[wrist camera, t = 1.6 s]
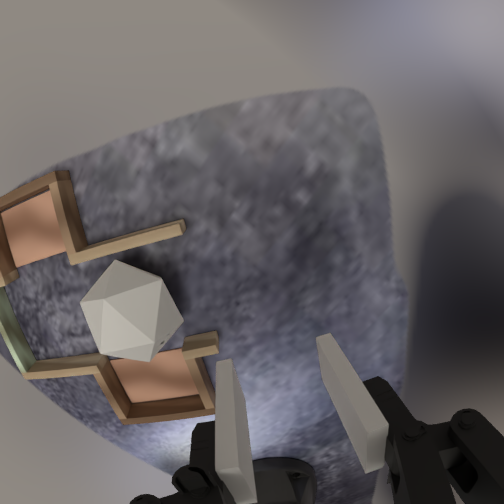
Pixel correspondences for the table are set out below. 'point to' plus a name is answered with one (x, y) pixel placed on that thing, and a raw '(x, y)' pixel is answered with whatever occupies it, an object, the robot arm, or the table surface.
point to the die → (130, 313)
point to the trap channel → (128, 371)
